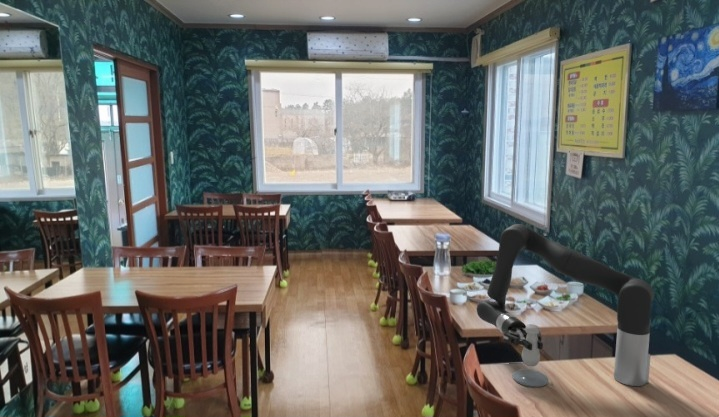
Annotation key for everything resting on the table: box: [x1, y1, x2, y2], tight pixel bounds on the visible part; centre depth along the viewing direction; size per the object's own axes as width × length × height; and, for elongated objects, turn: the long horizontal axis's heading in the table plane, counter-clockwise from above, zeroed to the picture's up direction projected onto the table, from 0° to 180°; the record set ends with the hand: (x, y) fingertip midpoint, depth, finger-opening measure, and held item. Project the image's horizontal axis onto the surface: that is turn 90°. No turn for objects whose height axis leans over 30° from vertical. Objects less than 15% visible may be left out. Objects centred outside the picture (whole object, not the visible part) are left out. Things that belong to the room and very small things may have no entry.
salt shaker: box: [521, 324, 541, 367], centre depth 163 cm, size 6×6×13 cm
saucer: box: [512, 368, 549, 388], centre depth 164 cm, size 11×11×1 cm
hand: (536, 346), depth 160 cm, fingers closed on salt shaker, 3 cm apart
